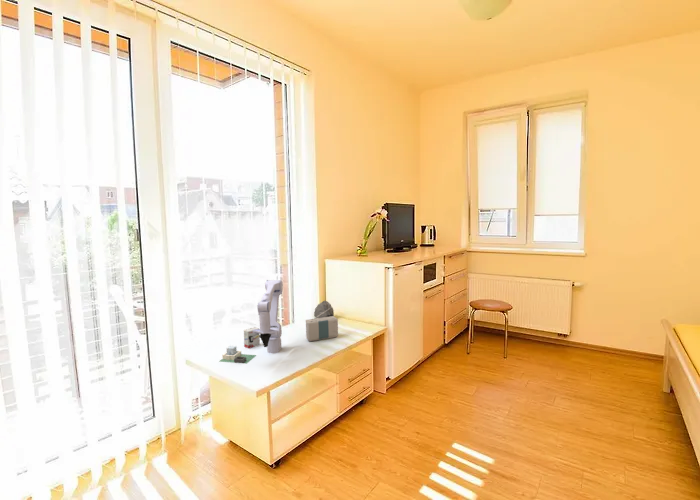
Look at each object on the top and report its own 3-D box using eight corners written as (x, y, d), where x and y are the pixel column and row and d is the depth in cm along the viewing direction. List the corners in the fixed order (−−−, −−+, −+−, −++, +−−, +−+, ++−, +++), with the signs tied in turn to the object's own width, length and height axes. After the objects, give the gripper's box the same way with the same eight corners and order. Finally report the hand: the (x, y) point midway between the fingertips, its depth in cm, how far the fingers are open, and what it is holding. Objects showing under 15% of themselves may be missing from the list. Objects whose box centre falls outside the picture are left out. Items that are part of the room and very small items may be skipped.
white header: (229, 354, 214) (229, 350, 214) (241, 354, 212) (241, 350, 212) (222, 359, 206) (221, 355, 206) (234, 360, 204) (233, 356, 204)
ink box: (248, 350, 223) (247, 331, 222) (244, 348, 226) (243, 329, 225) (260, 346, 229) (259, 328, 228) (256, 344, 232) (255, 326, 231)
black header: (234, 362, 202) (234, 359, 202) (237, 359, 205) (237, 356, 205) (243, 363, 201) (242, 359, 200) (246, 360, 204) (246, 357, 204)
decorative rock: (334, 319, 285) (334, 300, 284) (330, 321, 279) (330, 302, 278) (317, 316, 293) (317, 298, 291) (312, 318, 287) (312, 300, 285)
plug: (230, 355, 212) (230, 345, 211) (236, 356, 211) (236, 346, 210) (226, 358, 208) (226, 348, 207) (232, 359, 207) (232, 348, 206)
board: (230, 354, 215) (230, 353, 215) (256, 356, 212) (256, 355, 212) (218, 363, 204) (218, 361, 204) (246, 365, 200) (246, 363, 200)
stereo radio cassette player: (308, 342, 234) (307, 312, 232) (305, 338, 241) (304, 309, 239) (338, 337, 242) (338, 308, 240) (334, 334, 250) (333, 305, 248)
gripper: (249, 324, 197) (250, 348, 199) (274, 325, 194) (275, 349, 196) (255, 320, 204) (256, 343, 205) (279, 321, 201) (280, 345, 202)
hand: (265, 346), depth 201 cm, fingers closed
